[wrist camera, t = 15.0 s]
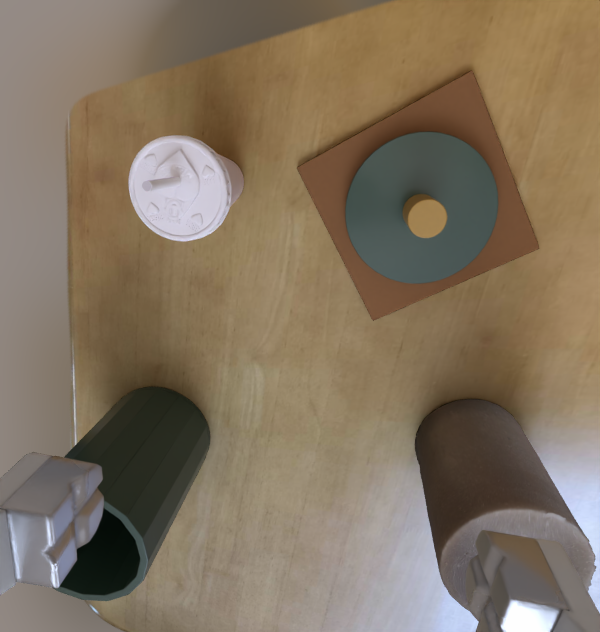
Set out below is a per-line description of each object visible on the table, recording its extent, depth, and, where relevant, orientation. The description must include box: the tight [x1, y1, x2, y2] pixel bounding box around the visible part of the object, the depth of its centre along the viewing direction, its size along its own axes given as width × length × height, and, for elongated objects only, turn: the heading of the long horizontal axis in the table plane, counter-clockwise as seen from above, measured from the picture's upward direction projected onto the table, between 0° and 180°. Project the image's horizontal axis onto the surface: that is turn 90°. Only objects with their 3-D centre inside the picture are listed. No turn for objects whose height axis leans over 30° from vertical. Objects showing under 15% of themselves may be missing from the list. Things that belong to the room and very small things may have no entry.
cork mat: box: [297, 71, 539, 321], centre depth 36 cm, size 14×14×1 cm
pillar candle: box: [415, 399, 596, 610], centre depth 35 cm, size 10×10×15 cm
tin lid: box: [345, 131, 498, 284], centre depth 33 cm, size 11×11×5 cm
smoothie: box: [129, 135, 244, 241], centre depth 31 cm, size 6×6×14 cm
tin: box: [52, 387, 210, 601], centre depth 39 cm, size 10×10×14 cm
